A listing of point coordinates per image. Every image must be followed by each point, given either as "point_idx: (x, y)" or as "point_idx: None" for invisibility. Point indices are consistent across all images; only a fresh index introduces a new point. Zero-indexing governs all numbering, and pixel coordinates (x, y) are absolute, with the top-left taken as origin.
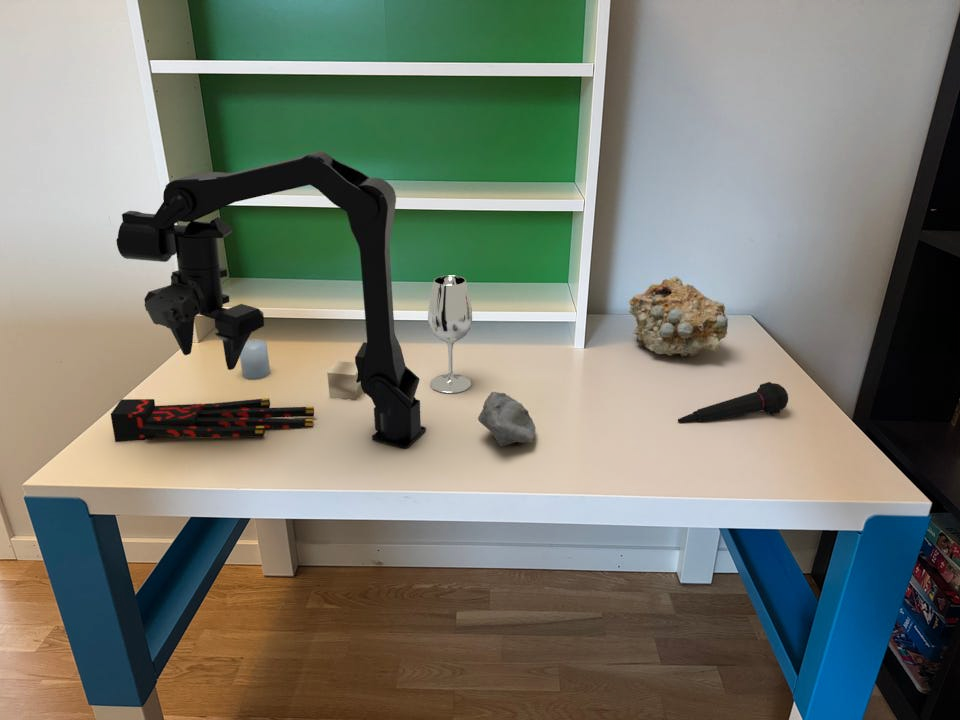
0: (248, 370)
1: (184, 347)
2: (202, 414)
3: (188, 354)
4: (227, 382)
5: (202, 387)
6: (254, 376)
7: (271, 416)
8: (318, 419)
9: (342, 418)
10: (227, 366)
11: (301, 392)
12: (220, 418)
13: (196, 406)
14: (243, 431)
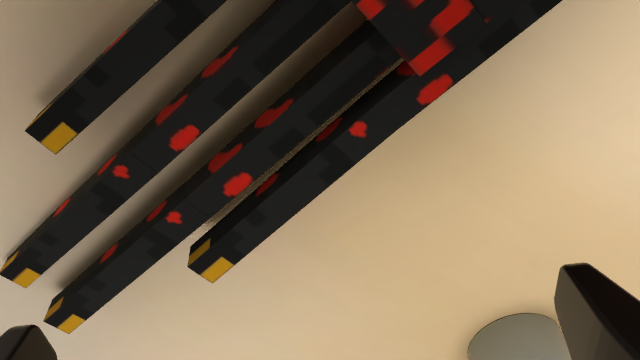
0: (519, 346)
1: (599, 331)
2: (361, 41)
3: (557, 285)
4: None
5: (628, 201)
6: (491, 334)
7: (147, 217)
8: (53, 297)
9: None
10: (10, 348)
11: (275, 356)
12: (256, 73)
13: (423, 58)
14: (85, 73)
